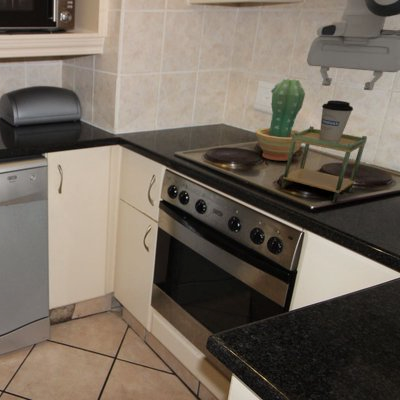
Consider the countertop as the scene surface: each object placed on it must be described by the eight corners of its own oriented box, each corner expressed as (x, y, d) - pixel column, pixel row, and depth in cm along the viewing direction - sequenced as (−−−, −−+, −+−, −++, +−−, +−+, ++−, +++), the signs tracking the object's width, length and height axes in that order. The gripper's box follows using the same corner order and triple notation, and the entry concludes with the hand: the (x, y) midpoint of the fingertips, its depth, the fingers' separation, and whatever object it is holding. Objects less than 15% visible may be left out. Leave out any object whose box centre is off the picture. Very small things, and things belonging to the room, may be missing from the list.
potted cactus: (304, 154, 161) (318, 78, 152) (302, 165, 148) (318, 83, 139) (254, 148, 168) (265, 75, 159) (249, 159, 155) (260, 81, 146)
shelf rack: (351, 191, 130) (367, 136, 124) (336, 202, 122) (352, 144, 116) (298, 178, 139) (310, 126, 133) (280, 187, 132) (292, 133, 126)
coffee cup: (328, 136, 129) (337, 99, 126) (350, 142, 123) (361, 104, 119) (308, 137, 127) (316, 100, 123) (330, 144, 121) (340, 105, 117)
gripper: (416, 30, 109) (399, 91, 114) (320, 27, 123) (308, 82, 128) (409, 30, 105) (392, 94, 110) (310, 27, 119) (299, 84, 124)
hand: (346, 87), depth 119 cm, fingers open, 8 cm apart
